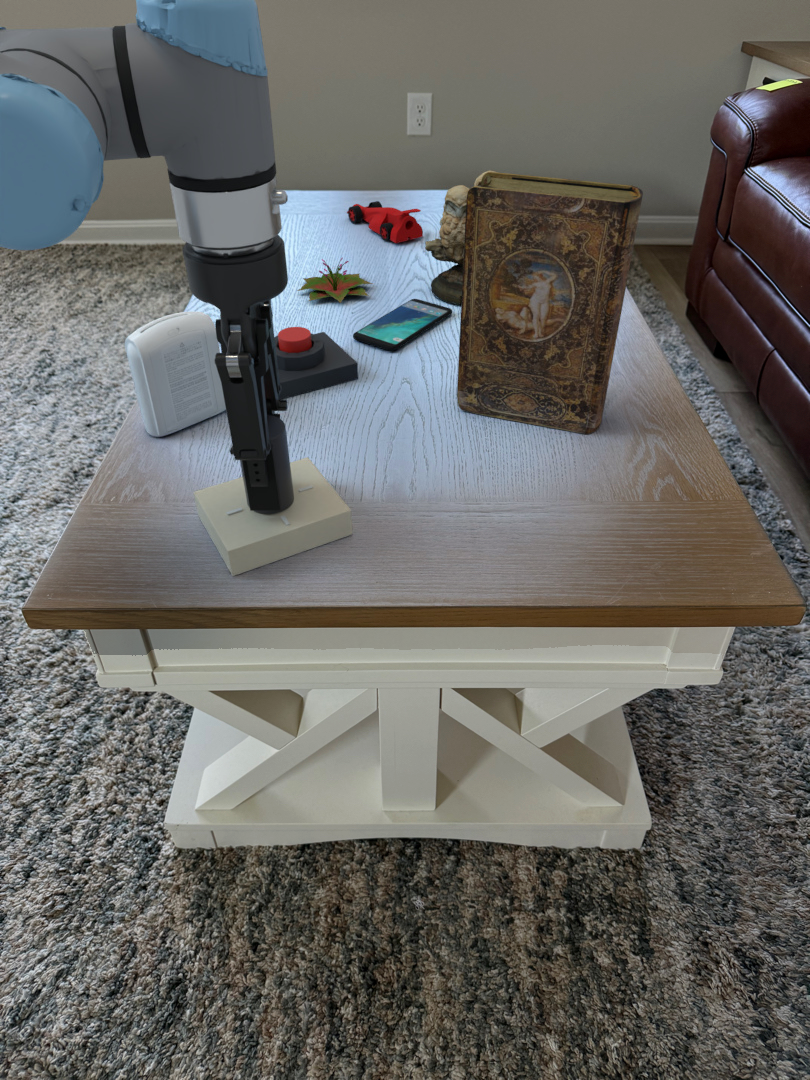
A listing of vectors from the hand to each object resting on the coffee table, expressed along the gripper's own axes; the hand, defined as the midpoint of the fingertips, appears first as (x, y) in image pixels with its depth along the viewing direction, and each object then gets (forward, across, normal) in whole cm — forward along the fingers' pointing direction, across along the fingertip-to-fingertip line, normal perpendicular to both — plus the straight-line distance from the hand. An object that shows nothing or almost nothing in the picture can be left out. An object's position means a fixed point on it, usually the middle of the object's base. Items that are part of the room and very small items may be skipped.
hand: (269, 490), depth 73 cm
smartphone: (+4, +43, -13) cm, 45 cm away
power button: (+1, +30, +1) cm, 30 cm away
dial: (+1, 0, 0) cm, 1 cm away
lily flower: (+4, +56, -3) cm, 56 cm away
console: (+4, 0, 0) cm, 4 cm away
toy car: (+4, +84, -9) cm, 84 cm away
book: (+4, +21, -28) cm, 35 cm away
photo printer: (+4, +20, +12) cm, 24 cm away
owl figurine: (+4, +54, -25) cm, 60 cm away
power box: (+4, +30, +1) cm, 31 cm away
